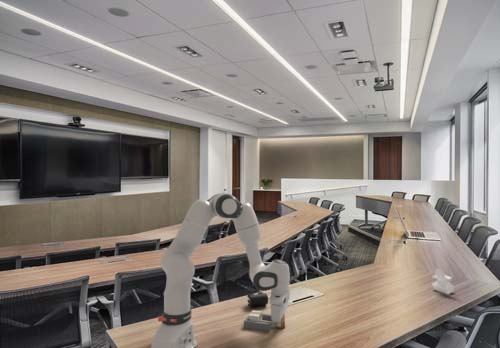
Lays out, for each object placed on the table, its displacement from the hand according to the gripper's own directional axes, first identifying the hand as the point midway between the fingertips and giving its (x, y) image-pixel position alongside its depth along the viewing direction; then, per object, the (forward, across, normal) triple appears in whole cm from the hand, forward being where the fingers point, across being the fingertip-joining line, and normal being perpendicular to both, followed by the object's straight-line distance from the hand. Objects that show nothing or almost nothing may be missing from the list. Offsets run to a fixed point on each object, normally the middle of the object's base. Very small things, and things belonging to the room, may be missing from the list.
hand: (280, 323), depth 157 cm
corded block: (+2, 0, -6) cm, 7 cm away
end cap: (+2, -21, -18) cm, 28 cm away
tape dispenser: (+2, -78, +84) cm, 115 cm away
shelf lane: (+2, 0, -10) cm, 10 cm away
